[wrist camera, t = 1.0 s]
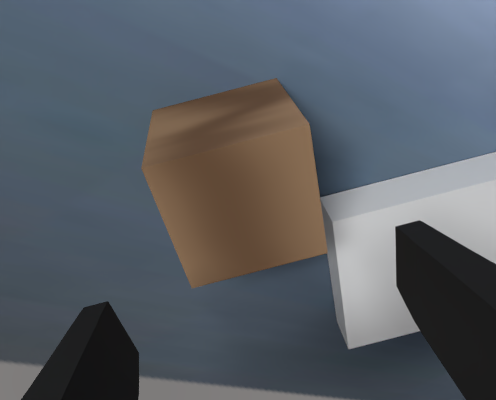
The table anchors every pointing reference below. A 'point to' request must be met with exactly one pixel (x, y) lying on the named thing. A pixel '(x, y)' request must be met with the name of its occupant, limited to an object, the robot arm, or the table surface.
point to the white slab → (384, 241)
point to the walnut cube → (235, 182)
